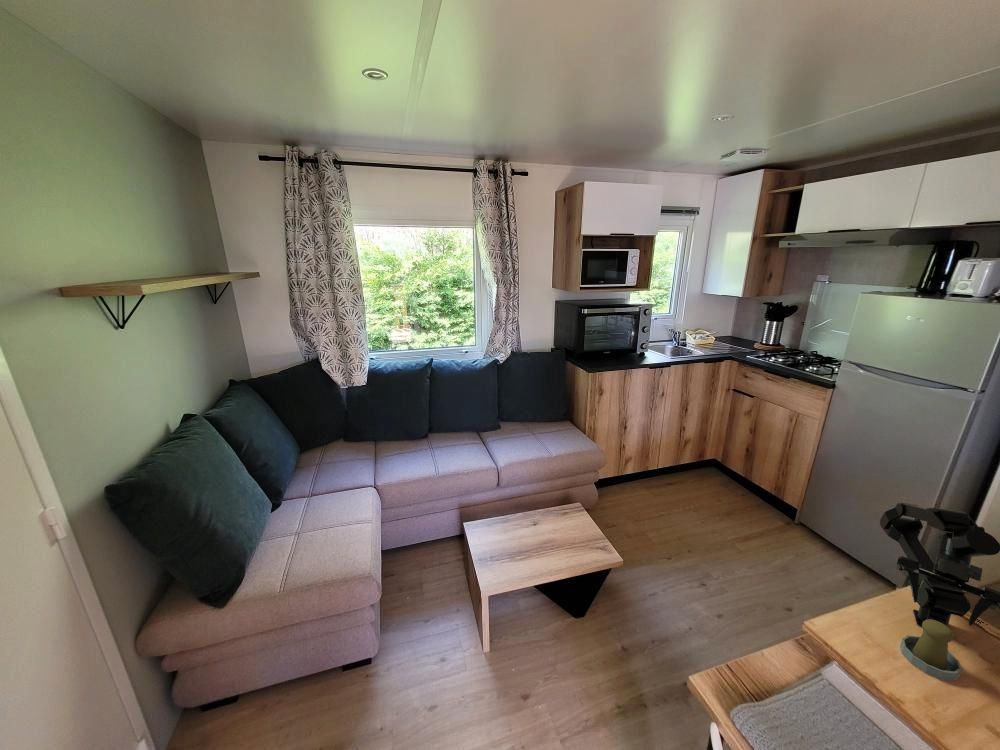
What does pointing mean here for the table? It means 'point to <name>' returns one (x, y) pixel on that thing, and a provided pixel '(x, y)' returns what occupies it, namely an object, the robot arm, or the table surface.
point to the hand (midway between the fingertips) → (941, 613)
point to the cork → (933, 644)
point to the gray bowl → (948, 674)
